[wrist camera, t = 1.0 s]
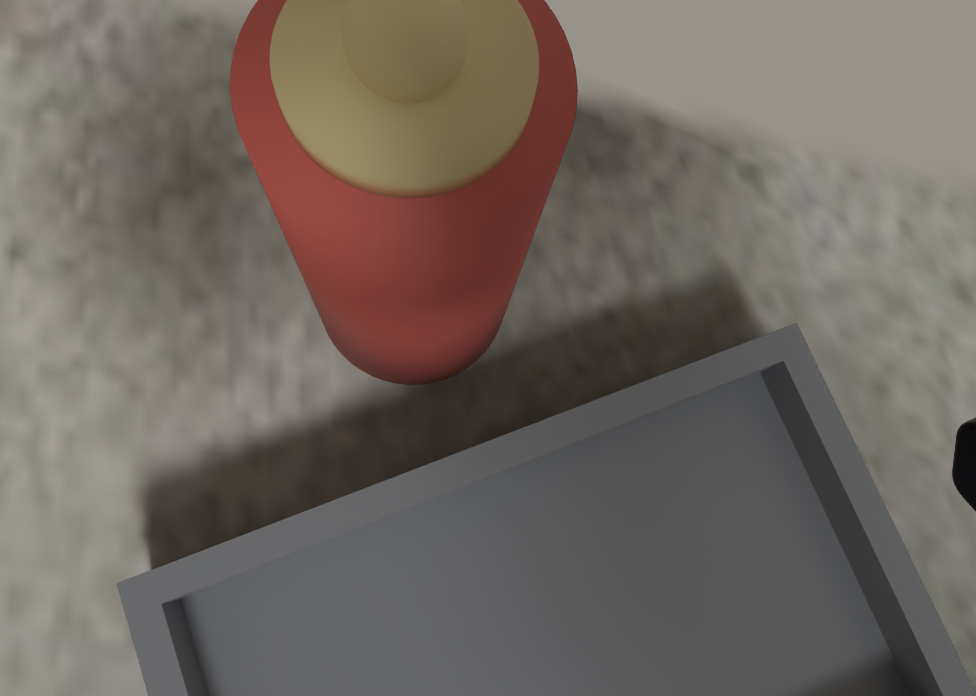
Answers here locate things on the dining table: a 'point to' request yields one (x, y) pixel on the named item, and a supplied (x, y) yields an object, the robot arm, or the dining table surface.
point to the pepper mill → (406, 162)
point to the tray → (579, 563)
